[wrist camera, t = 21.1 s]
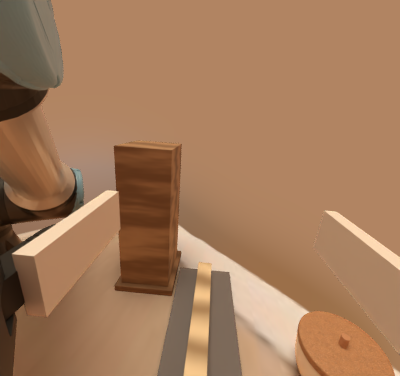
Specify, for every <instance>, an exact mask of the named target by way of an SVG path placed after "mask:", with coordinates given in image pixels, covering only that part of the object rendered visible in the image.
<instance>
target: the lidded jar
mask: <svg viewBox="0 0 400 376" xmlns="http://www.w3.org/2000/svg"><path fill="white" fill-rule="evenodd" d="M295 356H296V362H297V366H298V369H299V372H300V374H301V376H395V375H394V371H393V368H392V366H391V363H390V361H389V360H388V358H387V356H386V355H385V353H384V352H383V350H382V349H381V348H380V347H379V346H378V344H377V343H376V342H375V341H374V340H373V339H372V338H371V337H370V336H369V335H368V334H366V333H365V332H364V331H363V330H362V329H360V328H359V327H358V326H356V325H354V324H353V323H352V322H350V321H348V320H346V319H344V318H342V317H340V316H338V315H335V314H331V313H328V312H321V311H315V312H310V313H307V314H306V315H304V316H303V317H302V318H301V320H300V322H299V325H298V331H297V337H296V343H295Z"/></svg>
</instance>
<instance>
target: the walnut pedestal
mask: <svg viewBox="0 0 400 376" xmlns="http://www.w3.org/2000/svg"><path fill="white" fill-rule="evenodd" d="M181 145H182V144H175V143H163V142H150V141H134V142H129V143H124V144H120V145H115V146H114V156H115V174H116V191H119V210H120V230H119V248H120V266H121V276H120V278H119V279H118V281H117V283H116V284H115V290H118V291H128V292H138V293H149V294H159V295H169V296H172V292H173V287H174V283H175V279H176V274H177V270H178V266H179V261H180V257H181V251H177V239H178V216H179V215H178V214H179V192H180V191H179V190H180V169H181Z"/></svg>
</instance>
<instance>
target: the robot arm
mask: <svg viewBox="0 0 400 376" xmlns="http://www.w3.org/2000/svg"><path fill="white" fill-rule="evenodd" d="M62 80H63V60H62V52H61V46H60V40H59V35H58V31H57V27H56V24H55V20H54V15H53V8H52V4H51V0H0V376H13V362H14V349H15V336H16V322H17V318H16V315H15V312H16V311H17V310H18V309H19V308H20V307H21V306H22V305H23V304H24V305H25V309H26V313H27V315H29V316H38V317H48V315H49V314H50V313H51V312H52V311H53V309H54V308H55V307H56V306H57V305H58V303H59V302H60V301H61V300H62V299H63V297H64V296H65V295H66V294H67V293H68V291H69V290H70V289H71V288H72V287H73V285H74V284H75V283H76V282H77V281H78V279H79V278H80V277H81V276H82V275H83V273H84V272H85V271H86V270H87V269H88V268H89V266H90V265H91V264H92V263H93V262H94V260H95V259H96V258H97V257H98V256H99V254H100V253H101V252H102V251H103V250H104V248H105V247H106V246H107V245H108V244H109V242H110V241H111V240H112V239H113V238H114V236H115V235H116V234H117V233H118V232H119V230H120V210H119V191H105V192H104V193H102V194H101V195H99V196H98V197H96V198H95V199H93V200H92V201H90V202H89V203H87V204H86V205H84V203H83V199H84V188H83V178H82V174H81V171H80V170H79V169H74V168H69V167H68V166H67V165H66V164H64V163H63V162H61V161H60V159H59V156H58V153H57V150H56V147H55V144H54V141H53V138H52V135H51V132H50V129H49V126H48V123H47V120H46V117H45V114H44V111H43V109H42V105H41V104H42V103H43V102H44V100H45V99H46V97H47V95H48V92H49V88H56V87H58V86H59V85H60V84H61V83H62ZM57 218H65V219H63V220H62V221H60V222H59V223H57V224H54V225H51V226H48V227H46V228H43V229H42V230H40V231H39V232H37V233H35V234H34V235H33V236H31V237H29V238H28V239H26V240H25V241H23V242H22V241H21V240H20V239H19V237H18V236H17V235H16V234H15V232H14V231H13V229H12V225H11V224H16V223H24V222H32V221H41V220H49V219H57ZM313 248H314V249H315V251H316V252H317V253H318V255H319V256H320V257H321V258H322V260H323V261H324V262H325V263H326V265H327V266H328V267H329V268H330V270H331V271H332V272H333V273H334V274H335V276H336V277H337V278H338V279H339V281H340V282H341V283H342V284H343V286H344V287H345V288H346V289H347V291H348V292H349V293H350V294H351V296H352V297H353V298H354V299H355V301H356V302H357V303H358V304H359V306H360V307H361V308H362V309H363V311H364V312H365V313H366V314H367V315H368V317H369V318H370V319H371V320H372V322H373V323H374V324H375V325H376V327H377V328H378V329H379V330H380V332H381V333H382V334H383V335H384V336H385V338H386V339H387V340H388V341H389V343H390V344H391V345H392V346H393V348H394V349H395V350H396V351H397V353H398V354H399V355H400V257H398V256H397V255H396V254H394V253H393V252H392V251H390V250H389V249H387V248H386V247H384V246H383V245H382V244H381V243H379V242H378V241H376V240H375V239H374V238H372V237H371V236H369V235H368V234H366V233H365V232H364V231H363V230H361V229H360V228H358V227H357V226H355V225H354V224H353V223H351V222H350V221H349V220H347V219H346V218H344V217H343V216H342V215H340V214H339V213H338V212H335V211H324V212H323V216H322V219H321V222H320V226H319V229H318V233H317V236H316V239H315V243H314V246H313Z"/></svg>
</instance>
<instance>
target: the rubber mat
mask: <svg viewBox="0 0 400 376" xmlns="http://www.w3.org/2000/svg"><path fill="white" fill-rule="evenodd" d="M197 272H198V269H189V268H180V272H179V277H178V281H177V286H176V291H175V295H174V300H173V305H172V309H171V314H170V319H169V323H168V328H167V333H166V337H165V342H164V347H163V352H162V356H161V361H160V366H159V370H158V375H157V376H184V368H185V361H186V353H187V346H188V338H189V331H190V324H191V316H192V309H193V301H194V294H195V286H196V279H197ZM207 376H242V372H241V364H240V356H239V347H238V339H237V331H236V323H235V315H234V307H233V299H232V291H231V283H230V275H229V272H221V271H211V287H210V311H209V336H208V360H207Z"/></svg>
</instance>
